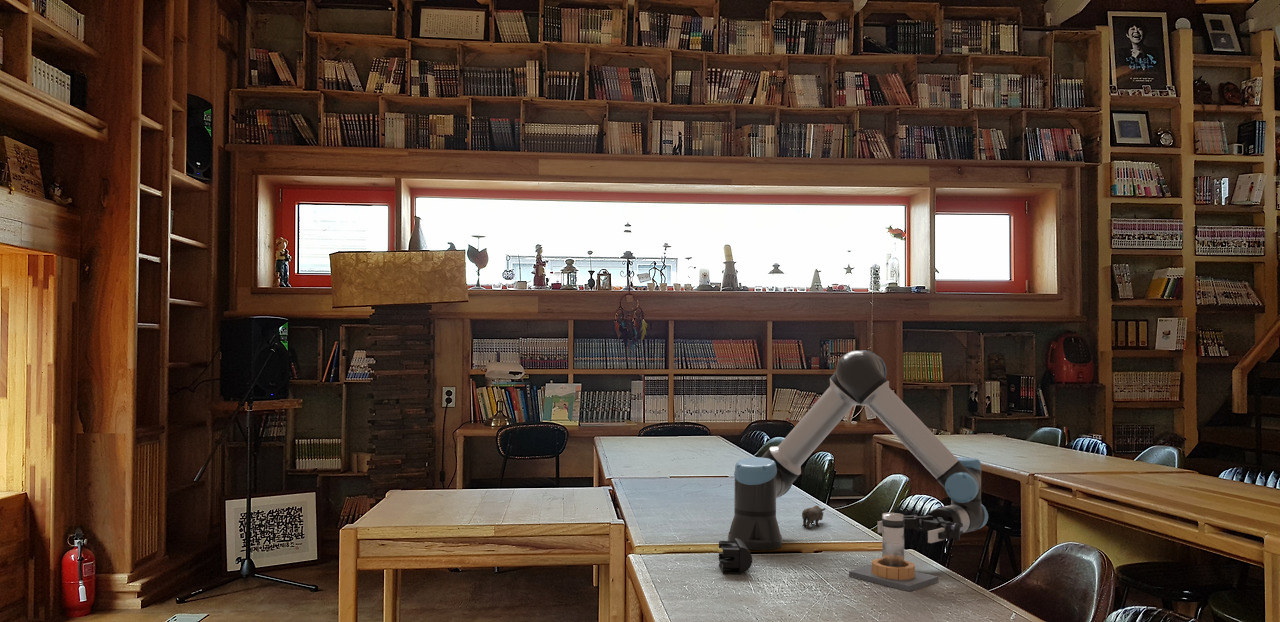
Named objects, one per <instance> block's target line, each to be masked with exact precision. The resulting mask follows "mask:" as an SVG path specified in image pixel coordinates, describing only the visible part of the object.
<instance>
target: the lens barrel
mask: <svg viewBox="0 0 1280 622" xmlns="http://www.w3.org/2000/svg"><path fill="white" fill-rule="evenodd" d="M904 516H905V515H904V514H903V513H898V512H883V513H882V515H881V521H882V533H881V534H882V535H881V537H882V540H881V541H882V549H881V550H882V551H881V553H882V554H881V555H882V557H881V558H882V565H885V566H890V567H904V560H905V529H904V527H905V519H904Z"/></svg>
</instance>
